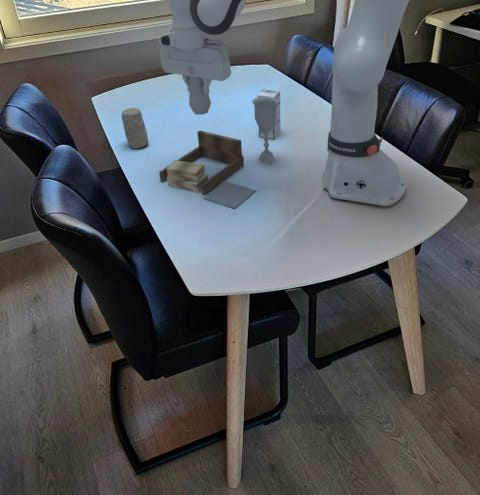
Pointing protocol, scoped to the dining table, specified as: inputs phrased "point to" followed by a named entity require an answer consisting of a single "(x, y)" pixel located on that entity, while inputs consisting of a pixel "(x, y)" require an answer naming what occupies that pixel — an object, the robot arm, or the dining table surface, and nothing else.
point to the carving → (134, 128)
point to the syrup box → (277, 127)
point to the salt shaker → (198, 95)
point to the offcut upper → (186, 171)
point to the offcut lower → (187, 183)
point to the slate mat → (230, 195)
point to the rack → (214, 157)
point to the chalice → (265, 123)
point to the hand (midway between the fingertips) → (198, 92)
